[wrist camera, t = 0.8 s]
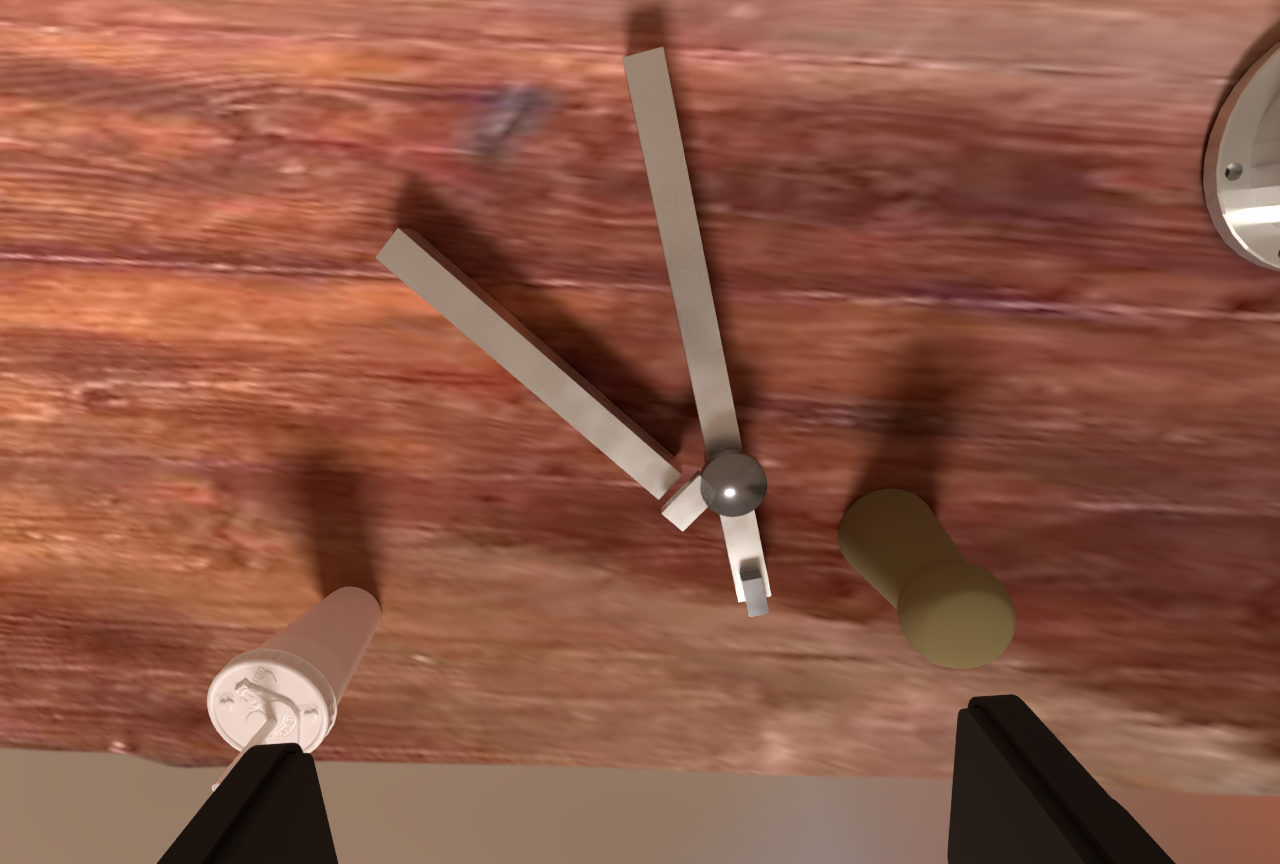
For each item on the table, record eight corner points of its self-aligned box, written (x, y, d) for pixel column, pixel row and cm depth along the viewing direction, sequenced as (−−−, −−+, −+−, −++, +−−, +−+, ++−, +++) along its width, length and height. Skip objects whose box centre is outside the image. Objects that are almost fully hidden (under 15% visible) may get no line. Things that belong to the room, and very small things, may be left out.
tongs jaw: (454, 177, 34) (428, 167, 30) (767, 460, 38) (781, 484, 34) (393, 257, 35) (360, 257, 31) (703, 524, 39) (709, 553, 35)
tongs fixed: (666, 62, 33) (667, 38, 29) (768, 581, 40) (779, 611, 37) (621, 73, 33) (617, 51, 29) (731, 588, 41) (738, 619, 37)
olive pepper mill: (818, 528, 39) (879, 628, 29) (898, 469, 38) (992, 549, 28) (875, 594, 40) (954, 713, 30) (954, 538, 39) (1065, 640, 29)
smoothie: (348, 668, 43) (208, 857, 29) (285, 598, 41) (107, 762, 28) (421, 623, 42) (310, 797, 28) (358, 550, 40) (210, 695, 27)
